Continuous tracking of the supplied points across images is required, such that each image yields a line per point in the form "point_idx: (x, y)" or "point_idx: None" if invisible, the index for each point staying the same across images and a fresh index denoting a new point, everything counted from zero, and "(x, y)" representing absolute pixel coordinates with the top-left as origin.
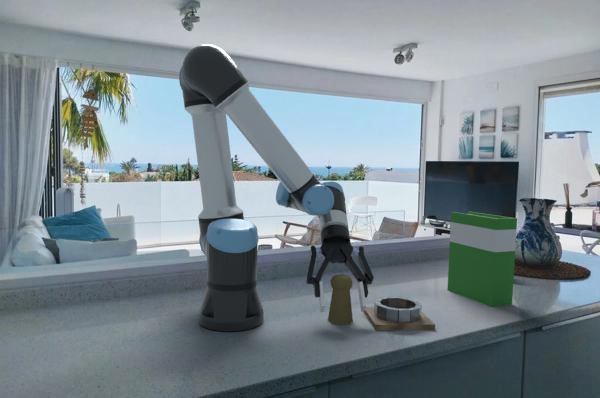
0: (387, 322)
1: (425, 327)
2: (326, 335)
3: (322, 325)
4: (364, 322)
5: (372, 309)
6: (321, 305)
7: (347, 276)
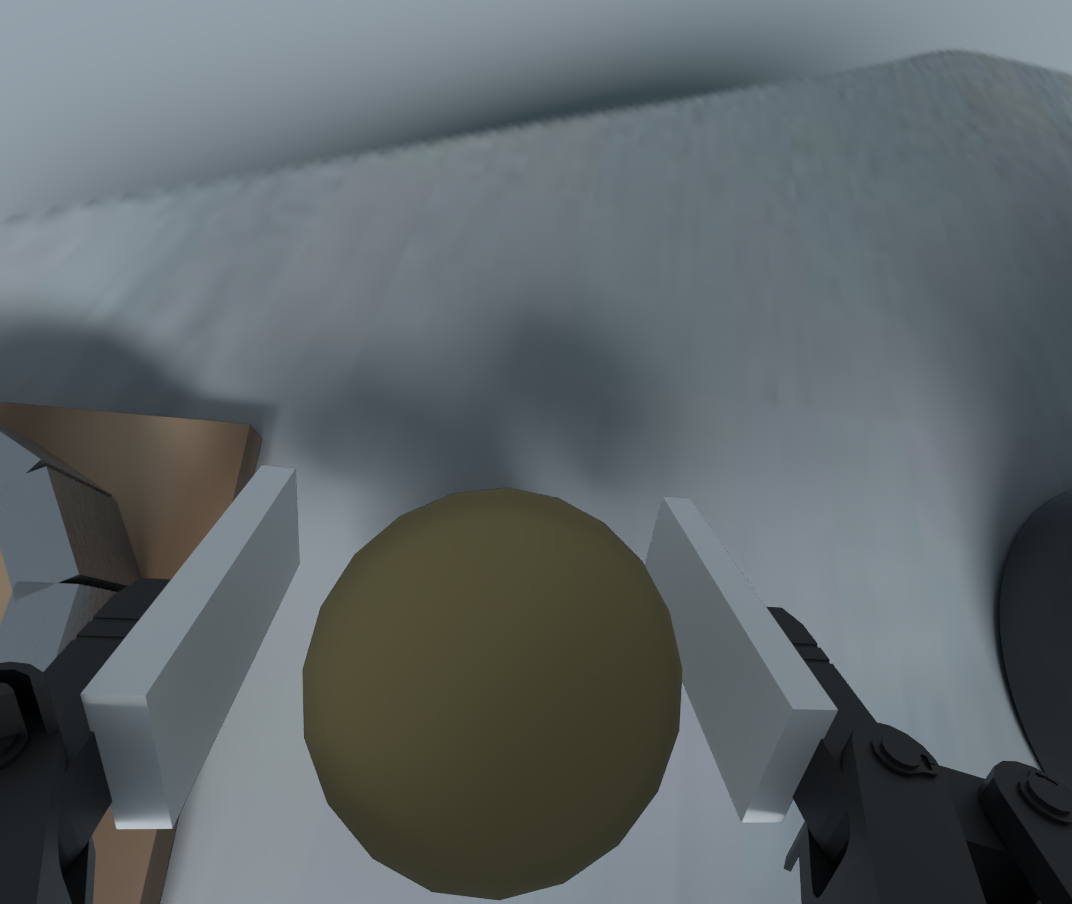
0: (122, 458)
1: None
2: (612, 387)
3: None
4: None
5: None
6: (692, 503)
7: (403, 616)
